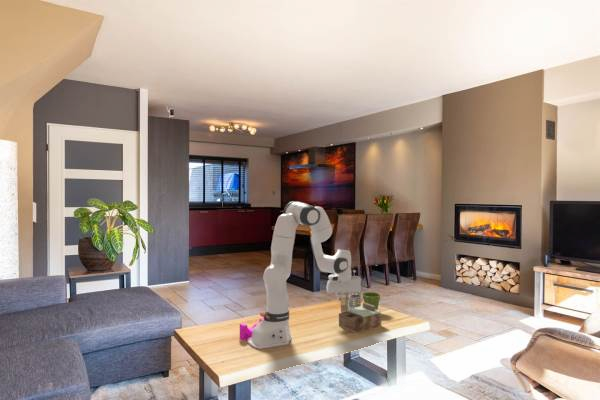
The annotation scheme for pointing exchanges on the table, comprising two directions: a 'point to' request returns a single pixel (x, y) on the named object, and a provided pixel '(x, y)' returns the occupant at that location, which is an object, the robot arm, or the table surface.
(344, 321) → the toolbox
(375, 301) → the plant pot
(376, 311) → the lid
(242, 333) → the toy block
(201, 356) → the table surface
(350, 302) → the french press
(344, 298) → the wooden block
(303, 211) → the robot arm
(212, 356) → the table surface
